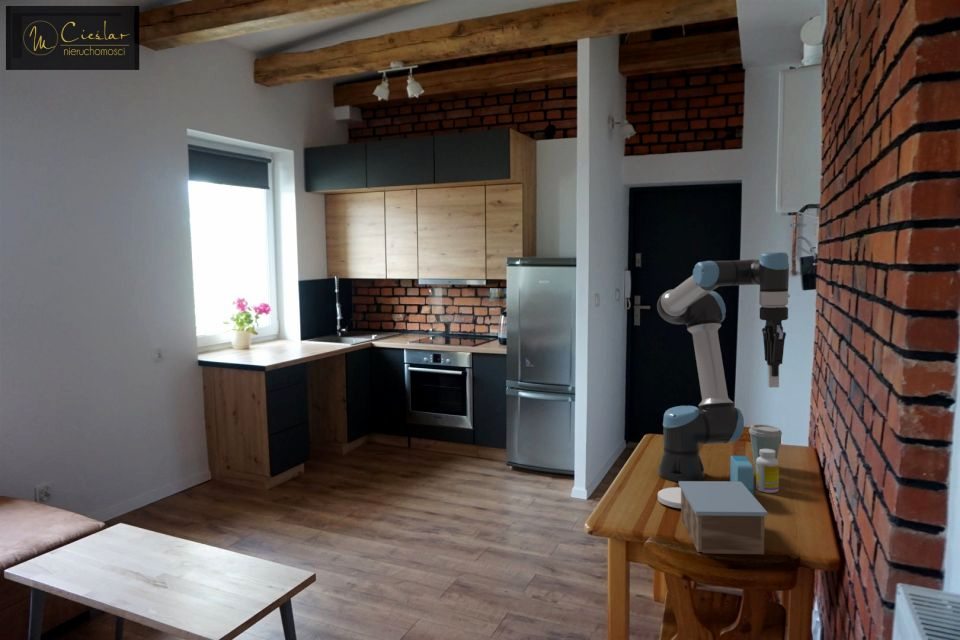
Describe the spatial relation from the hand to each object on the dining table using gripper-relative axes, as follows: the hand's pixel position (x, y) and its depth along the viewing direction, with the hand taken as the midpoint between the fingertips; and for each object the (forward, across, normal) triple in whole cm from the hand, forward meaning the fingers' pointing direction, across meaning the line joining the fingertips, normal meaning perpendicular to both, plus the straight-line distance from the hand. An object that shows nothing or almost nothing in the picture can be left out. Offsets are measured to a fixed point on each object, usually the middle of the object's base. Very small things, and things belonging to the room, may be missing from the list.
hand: (773, 386), depth 188 cm
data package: (+37, +8, +6) cm, 38 cm away
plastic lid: (+37, +4, +25) cm, 45 cm away
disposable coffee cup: (+37, +37, -10) cm, 53 cm away
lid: (+26, -20, +20) cm, 39 cm away
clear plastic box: (+36, -20, +20) cm, 46 cm away
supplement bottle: (+37, +15, -4) cm, 40 cm away
